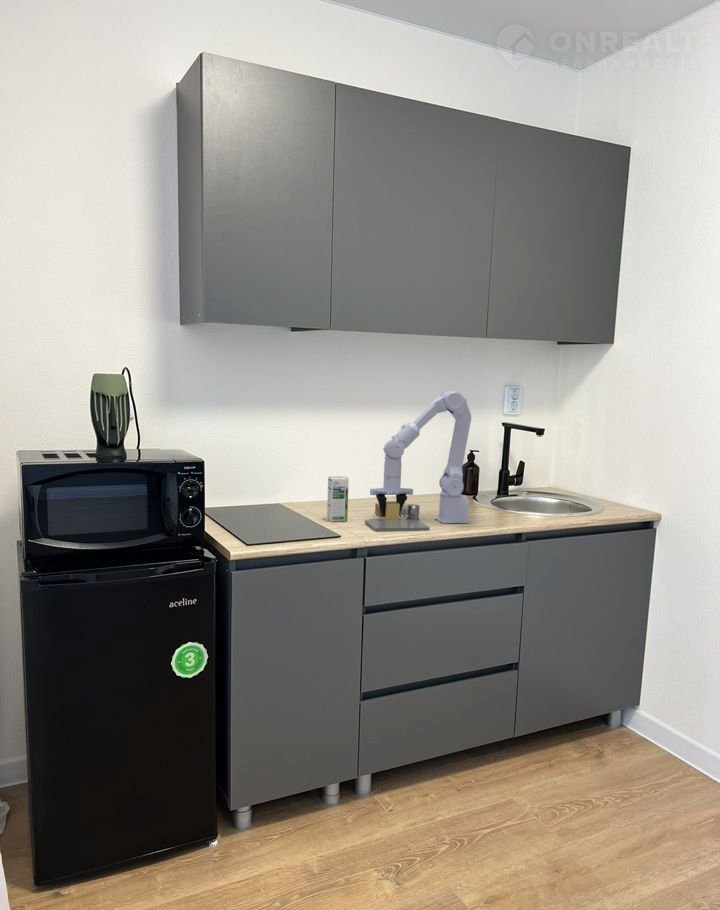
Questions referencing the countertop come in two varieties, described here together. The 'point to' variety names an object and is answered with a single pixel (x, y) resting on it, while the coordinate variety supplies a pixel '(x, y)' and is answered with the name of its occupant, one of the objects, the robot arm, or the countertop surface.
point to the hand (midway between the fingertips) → (390, 516)
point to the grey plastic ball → (404, 509)
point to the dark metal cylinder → (413, 512)
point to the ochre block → (392, 511)
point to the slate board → (396, 525)
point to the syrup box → (337, 498)
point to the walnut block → (377, 510)
